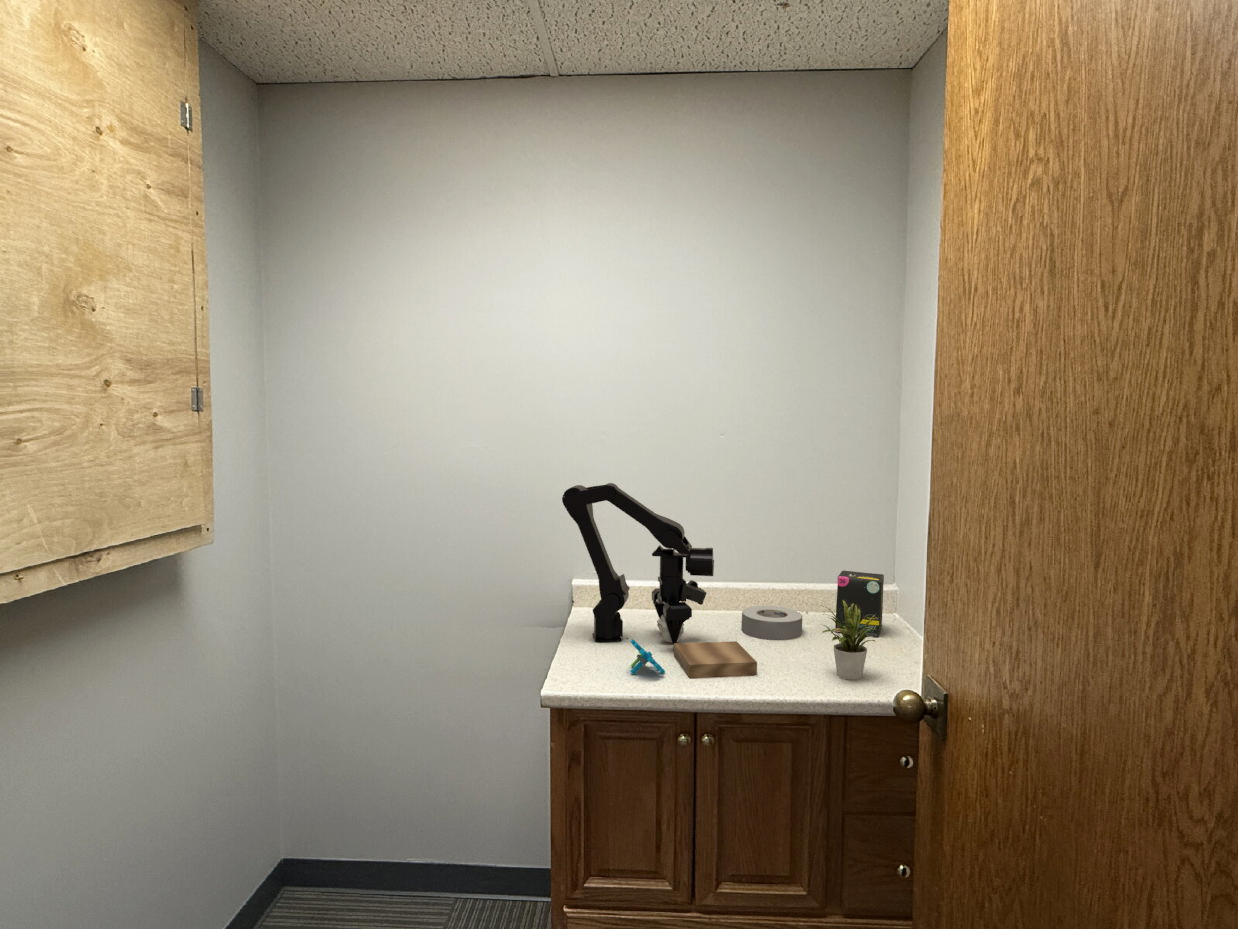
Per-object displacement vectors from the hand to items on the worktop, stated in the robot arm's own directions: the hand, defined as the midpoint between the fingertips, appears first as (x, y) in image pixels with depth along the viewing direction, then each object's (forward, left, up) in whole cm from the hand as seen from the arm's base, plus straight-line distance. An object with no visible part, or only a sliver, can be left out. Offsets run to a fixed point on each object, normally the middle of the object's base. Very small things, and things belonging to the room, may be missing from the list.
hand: (670, 637), depth 196 cm
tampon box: (+51, +4, -2) cm, 51 cm away
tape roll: (+28, +6, -2) cm, 29 cm away
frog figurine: (0, 0, -2) cm, 2 cm away
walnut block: (+6, -18, -2) cm, 19 cm away
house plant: (+33, -27, -2) cm, 43 cm away
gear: (-10, -21, -2) cm, 23 cm away
